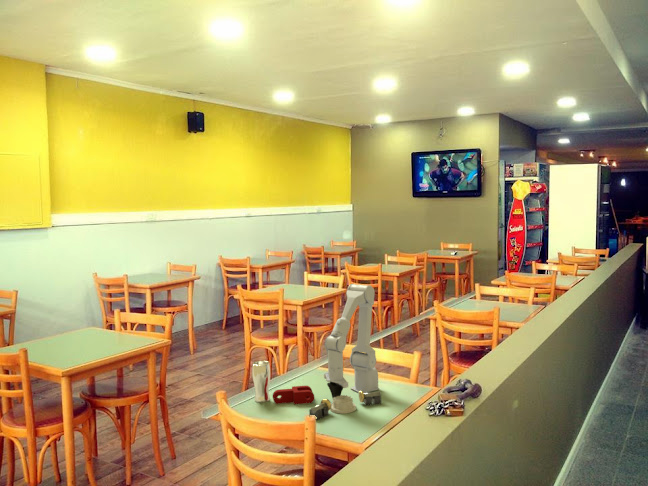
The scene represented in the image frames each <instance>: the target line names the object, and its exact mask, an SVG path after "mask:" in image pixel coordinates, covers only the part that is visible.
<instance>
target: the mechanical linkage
mask: <svg viewBox="0 0 648 486" xmlns="http://www.w3.org/2000/svg"><path fill="white" fill-rule="evenodd" d="M272 400H273V402H274V403H275V404H277V405H278V404H289V403H293V404H294V406H296V405H302V404H303V405H304V404H312V403H313V402H314V401H315V394H314V392H313V390H312V388H311V386H309V385H297V386H296V385H294V386H291V388H282V389H276V390H275V391H274V392H273V393H272Z"/></svg>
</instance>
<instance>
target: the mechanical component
mask: <svg viewBox="0 0 648 486" xmlns="http://www.w3.org/2000/svg"><path fill="white" fill-rule="evenodd" d="M353 401H354V400H353V397H352V396H351V395H350V396H348V395H345V394H341V396H337V397H334V398H332V402H331V409H330V410H329V411H330V412H332V413H335V414H343V415H345V414H350V413H353V412H355V411H356V410H357V405H356V403H354V402H353Z"/></svg>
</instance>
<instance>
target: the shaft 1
mask: <svg viewBox="0 0 648 486" xmlns="http://www.w3.org/2000/svg"><path fill="white" fill-rule="evenodd" d="M331 404H332V402H331V400H330V399H328V398H324V399H322V400H321V401H320V403H319V404H317V405H315V406H313V407H311V408H310V409H309V411H308V412H309V415H308V416H310V415H315V416H316V417H317V420H316V421H319V420H321V419H323V418H325V417H328V416H329V411H331V410H330V409H331Z"/></svg>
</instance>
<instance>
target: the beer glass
mask: <svg viewBox="0 0 648 486" xmlns="http://www.w3.org/2000/svg"><path fill="white" fill-rule="evenodd" d="M270 380H271V366H270V362H269V361H267V360H258V361H254V362H253V363H252V381H253V385H254V390H255V391H254V392H255V394H254V401H255V402H257V403H267V402H269V401H270V400H271V397H270V391H269V389H270V382H271V381H270Z"/></svg>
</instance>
